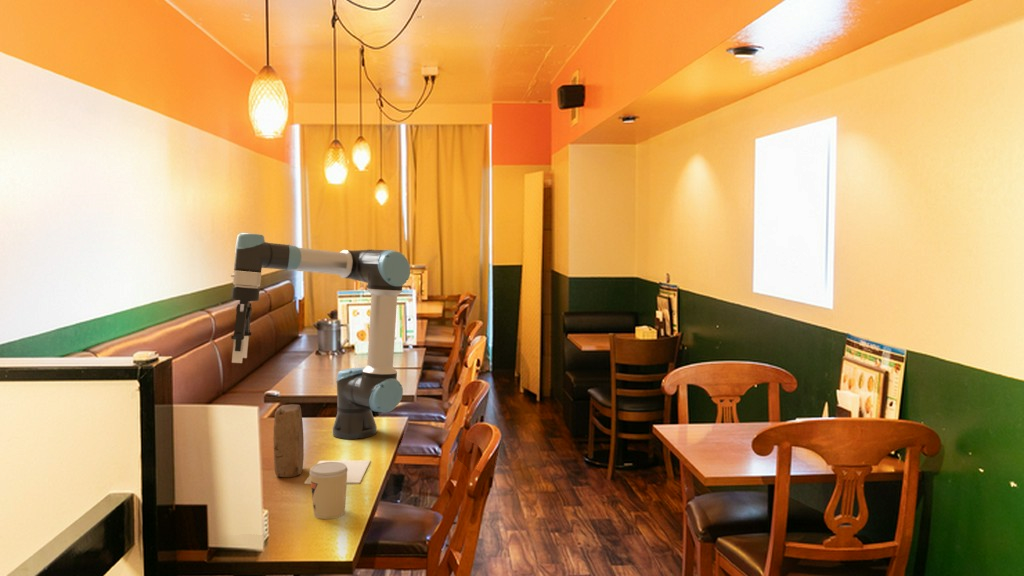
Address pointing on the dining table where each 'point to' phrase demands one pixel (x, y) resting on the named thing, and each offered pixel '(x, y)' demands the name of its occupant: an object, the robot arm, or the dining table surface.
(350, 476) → the mat
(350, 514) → the dining table surface
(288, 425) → the block
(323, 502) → the coffee cup
